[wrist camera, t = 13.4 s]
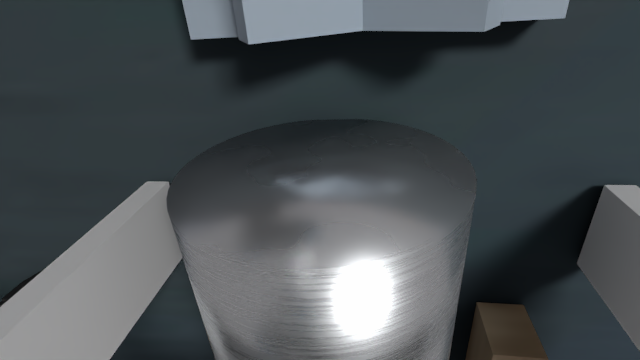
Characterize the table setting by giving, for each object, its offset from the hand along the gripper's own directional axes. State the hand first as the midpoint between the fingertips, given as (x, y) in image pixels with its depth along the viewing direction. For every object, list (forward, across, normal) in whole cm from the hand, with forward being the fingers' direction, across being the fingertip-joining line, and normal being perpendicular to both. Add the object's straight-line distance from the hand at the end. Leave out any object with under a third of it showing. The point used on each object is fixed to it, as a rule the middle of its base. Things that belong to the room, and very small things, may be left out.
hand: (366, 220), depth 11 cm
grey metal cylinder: (0, 0, -2) cm, 2 cm away
